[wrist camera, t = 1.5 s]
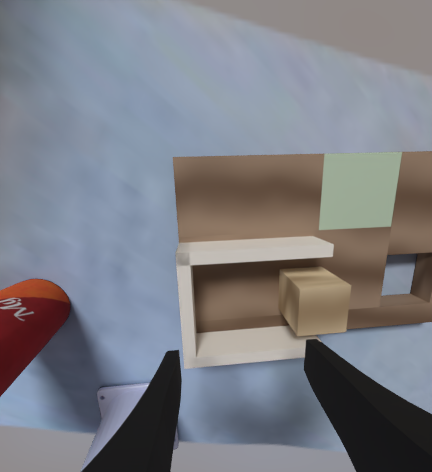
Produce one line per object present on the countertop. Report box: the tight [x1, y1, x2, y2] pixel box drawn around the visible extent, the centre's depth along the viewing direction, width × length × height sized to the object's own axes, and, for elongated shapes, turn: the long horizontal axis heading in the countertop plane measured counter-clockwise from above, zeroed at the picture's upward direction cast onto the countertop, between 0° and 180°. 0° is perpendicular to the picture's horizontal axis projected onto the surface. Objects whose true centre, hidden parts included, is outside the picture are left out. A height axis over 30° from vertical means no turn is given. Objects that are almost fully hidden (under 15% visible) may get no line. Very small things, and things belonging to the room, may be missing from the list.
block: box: [278, 267, 351, 336], centre depth 18 cm, size 4×4×4 cm
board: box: [173, 151, 432, 333], centre depth 20 cm, size 17×26×2 cm, turn 92°
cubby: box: [176, 236, 334, 369], centre depth 18 cm, size 10×12×3 cm
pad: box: [319, 152, 402, 230], centre depth 19 cm, size 6×7×2 cm
